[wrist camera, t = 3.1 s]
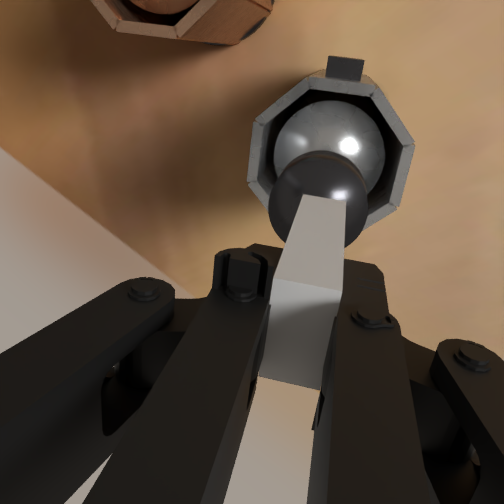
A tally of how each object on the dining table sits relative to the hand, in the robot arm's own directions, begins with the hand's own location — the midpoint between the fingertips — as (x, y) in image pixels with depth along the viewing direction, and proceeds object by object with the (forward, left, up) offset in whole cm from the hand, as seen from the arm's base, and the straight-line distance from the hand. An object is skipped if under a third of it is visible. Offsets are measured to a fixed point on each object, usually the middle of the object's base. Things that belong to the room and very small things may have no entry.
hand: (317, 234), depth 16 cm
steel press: (0, 0, -25) cm, 25 cm away
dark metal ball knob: (0, 0, -13) cm, 13 cm away
